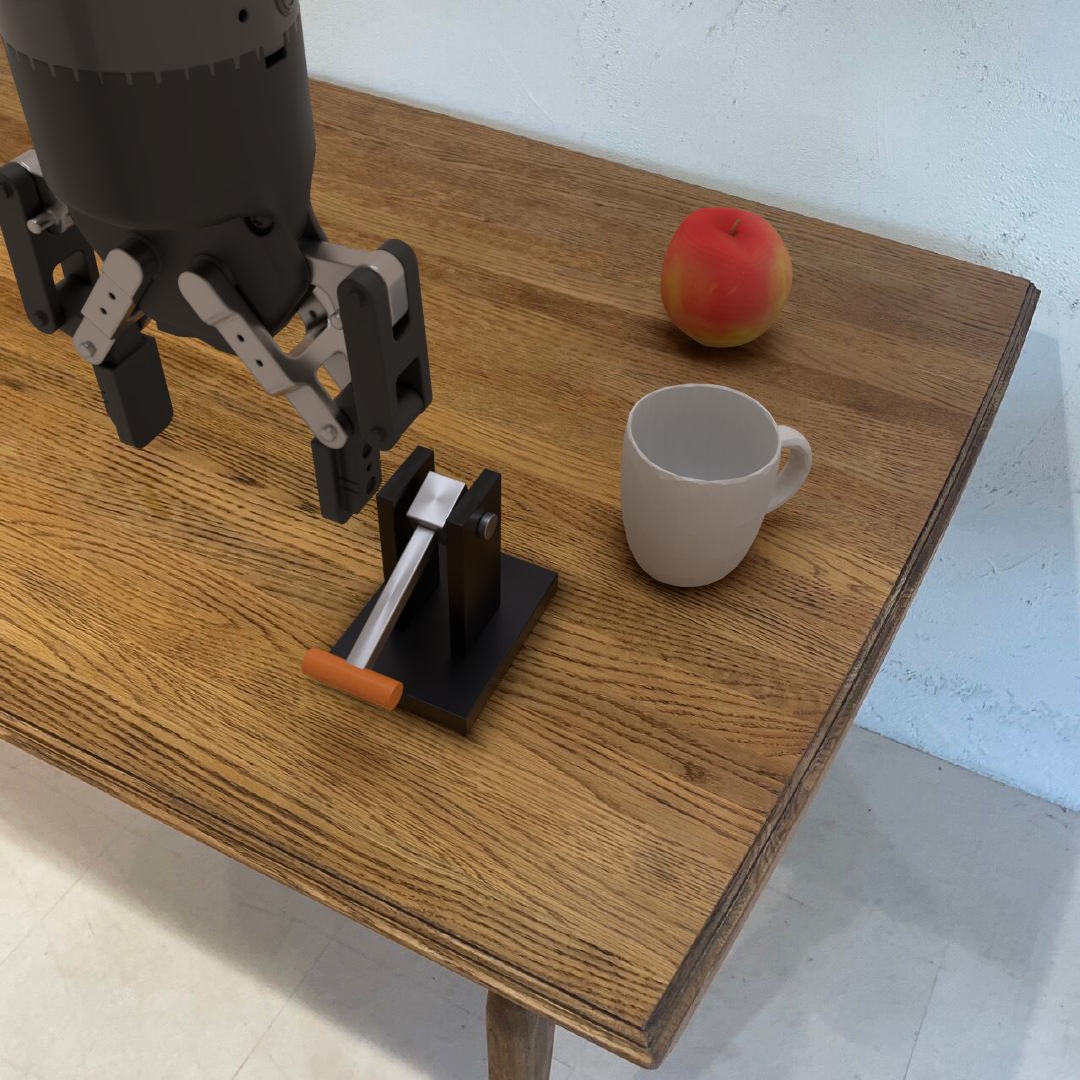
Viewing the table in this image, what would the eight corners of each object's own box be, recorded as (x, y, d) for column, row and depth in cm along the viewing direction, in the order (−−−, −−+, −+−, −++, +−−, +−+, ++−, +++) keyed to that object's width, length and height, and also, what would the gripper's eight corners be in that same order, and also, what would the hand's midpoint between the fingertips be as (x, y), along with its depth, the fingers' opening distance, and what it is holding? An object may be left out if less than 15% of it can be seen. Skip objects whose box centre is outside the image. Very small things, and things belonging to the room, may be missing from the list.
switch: (395, 716, 56) (383, 702, 54) (309, 680, 58) (294, 665, 56) (497, 512, 61) (490, 491, 58) (415, 482, 62) (405, 461, 60)
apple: (696, 386, 84) (715, 268, 77) (630, 318, 90) (642, 203, 83) (802, 353, 87) (829, 237, 80) (732, 290, 93) (751, 176, 86)
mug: (655, 622, 68) (675, 500, 61) (588, 525, 73) (598, 403, 66) (831, 561, 72) (869, 440, 65) (754, 473, 78) (781, 353, 70)
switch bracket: (466, 736, 62) (462, 590, 53) (325, 677, 64) (299, 529, 56) (558, 589, 70) (567, 441, 61) (428, 541, 72) (420, 393, 64)
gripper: (-175, -6, 29) (16, 471, 40) (303, 117, 25) (363, 608, 36) (36, -90, 34) (152, 358, 45) (464, 2, 30) (472, 468, 41)
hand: (246, 469), depth 41 cm, fingers open, 8 cm apart
